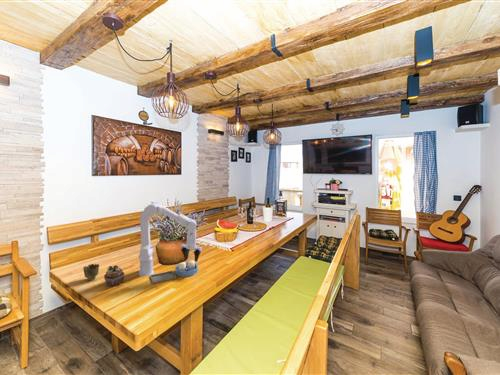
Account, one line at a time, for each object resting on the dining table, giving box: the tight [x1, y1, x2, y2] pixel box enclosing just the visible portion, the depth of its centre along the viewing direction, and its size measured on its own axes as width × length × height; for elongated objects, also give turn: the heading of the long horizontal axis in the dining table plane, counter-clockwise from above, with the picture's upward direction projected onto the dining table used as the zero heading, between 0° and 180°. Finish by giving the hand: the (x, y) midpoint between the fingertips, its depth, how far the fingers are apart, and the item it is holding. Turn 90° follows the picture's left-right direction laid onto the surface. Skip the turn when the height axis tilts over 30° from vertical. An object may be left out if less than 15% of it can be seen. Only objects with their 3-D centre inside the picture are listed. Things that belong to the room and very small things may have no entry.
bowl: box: [174, 261, 199, 278], centre depth 140 cm, size 14×14×4 cm
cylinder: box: [187, 260, 196, 271], centre depth 141 cm, size 4×4×6 cm
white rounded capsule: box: [178, 261, 187, 271], centre depth 138 cm, size 4×4×6 cm
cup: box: [82, 263, 100, 281], centre depth 127 cm, size 8×7×8 cm
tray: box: [149, 270, 178, 285], centre depth 131 cm, size 10×13×1 cm
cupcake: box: [103, 265, 125, 288], centre depth 124 cm, size 10×10×10 cm
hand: (191, 260), depth 141 cm, fingers open, 7 cm apart
